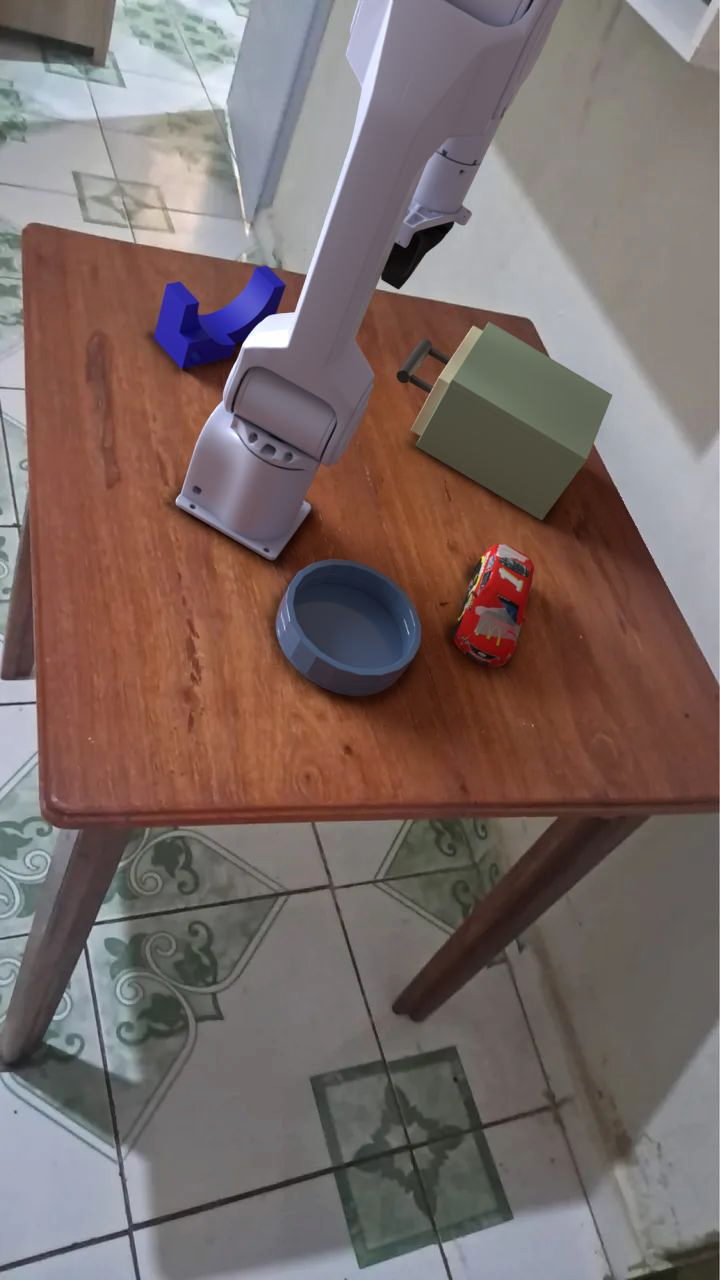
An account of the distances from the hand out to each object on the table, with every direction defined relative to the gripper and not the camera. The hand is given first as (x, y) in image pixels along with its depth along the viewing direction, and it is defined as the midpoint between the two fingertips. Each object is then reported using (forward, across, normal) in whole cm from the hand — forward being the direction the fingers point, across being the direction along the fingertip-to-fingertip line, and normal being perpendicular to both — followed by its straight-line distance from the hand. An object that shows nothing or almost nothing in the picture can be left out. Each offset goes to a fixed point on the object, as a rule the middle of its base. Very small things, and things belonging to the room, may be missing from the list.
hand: (392, 281), depth 91 cm
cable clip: (+11, -8, +12) cm, 18 cm away
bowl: (+10, -33, -13) cm, 37 cm away
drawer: (+9, 0, -13) cm, 16 cm away
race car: (+11, -22, -23) cm, 34 cm away
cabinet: (+10, 0, -17) cm, 20 cm away
